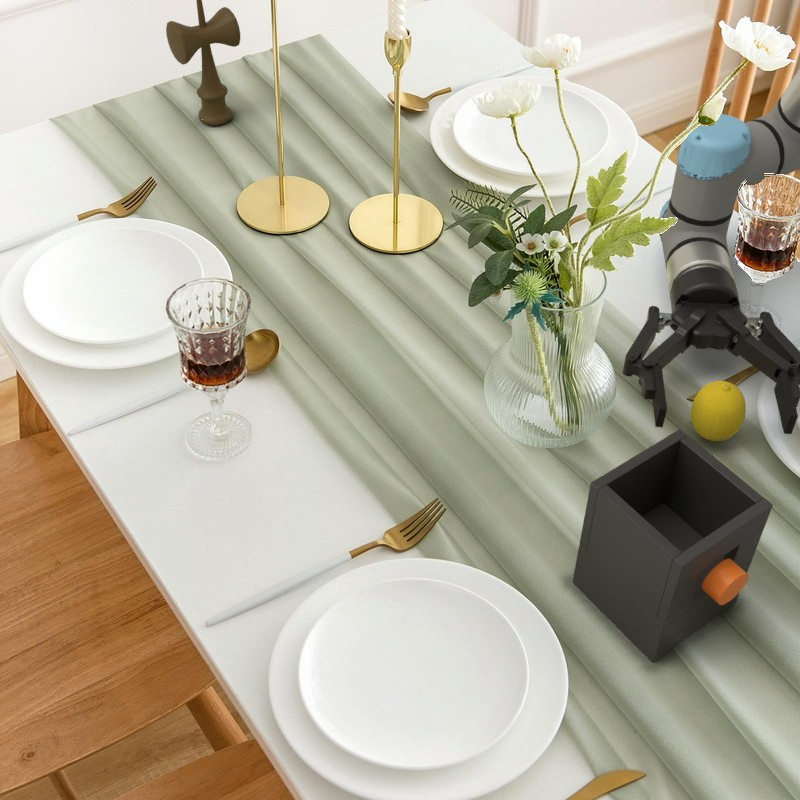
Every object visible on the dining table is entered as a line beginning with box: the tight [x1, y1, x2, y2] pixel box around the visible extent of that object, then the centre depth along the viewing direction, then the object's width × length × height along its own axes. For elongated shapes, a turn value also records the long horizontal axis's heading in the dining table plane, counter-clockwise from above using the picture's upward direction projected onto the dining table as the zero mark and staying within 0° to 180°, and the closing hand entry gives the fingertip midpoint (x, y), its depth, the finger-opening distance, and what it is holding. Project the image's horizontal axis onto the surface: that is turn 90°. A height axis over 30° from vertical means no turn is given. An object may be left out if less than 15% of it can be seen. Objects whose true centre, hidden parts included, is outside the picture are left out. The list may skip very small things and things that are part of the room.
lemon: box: [690, 380, 747, 442], centre depth 116 cm, size 6×6×8 cm
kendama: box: [165, 0, 241, 126], centre depth 158 cm, size 6×10×20 cm, turn 124°
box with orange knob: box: [572, 428, 774, 663], centre depth 99 cm, size 11×11×15 cm
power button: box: [702, 559, 750, 605], centre depth 94 cm, size 2×4×4 cm, turn 125°
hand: (725, 421), depth 112 cm, fingers open, 12 cm apart
